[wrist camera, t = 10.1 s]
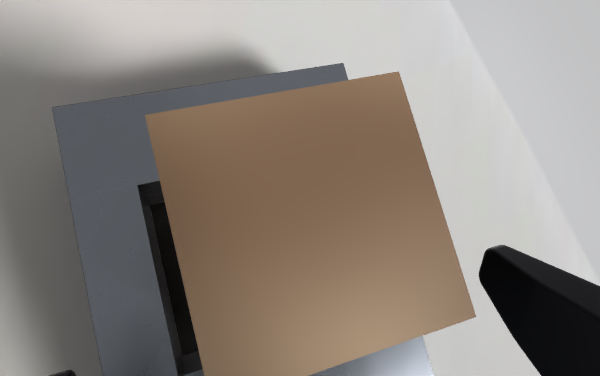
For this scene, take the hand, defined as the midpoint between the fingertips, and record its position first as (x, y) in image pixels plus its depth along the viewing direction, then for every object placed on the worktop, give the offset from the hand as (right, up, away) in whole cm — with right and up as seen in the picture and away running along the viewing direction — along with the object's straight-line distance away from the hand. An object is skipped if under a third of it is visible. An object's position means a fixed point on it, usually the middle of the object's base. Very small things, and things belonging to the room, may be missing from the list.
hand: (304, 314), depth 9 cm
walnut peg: (-3, 0, +9) cm, 9 cm away
